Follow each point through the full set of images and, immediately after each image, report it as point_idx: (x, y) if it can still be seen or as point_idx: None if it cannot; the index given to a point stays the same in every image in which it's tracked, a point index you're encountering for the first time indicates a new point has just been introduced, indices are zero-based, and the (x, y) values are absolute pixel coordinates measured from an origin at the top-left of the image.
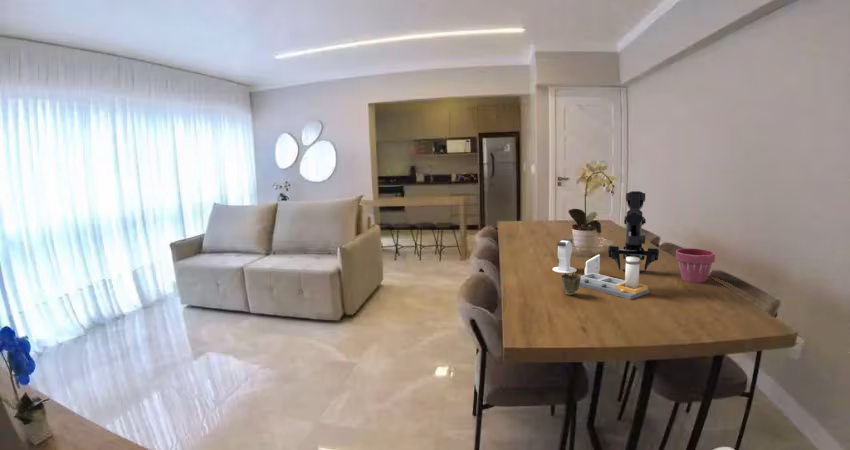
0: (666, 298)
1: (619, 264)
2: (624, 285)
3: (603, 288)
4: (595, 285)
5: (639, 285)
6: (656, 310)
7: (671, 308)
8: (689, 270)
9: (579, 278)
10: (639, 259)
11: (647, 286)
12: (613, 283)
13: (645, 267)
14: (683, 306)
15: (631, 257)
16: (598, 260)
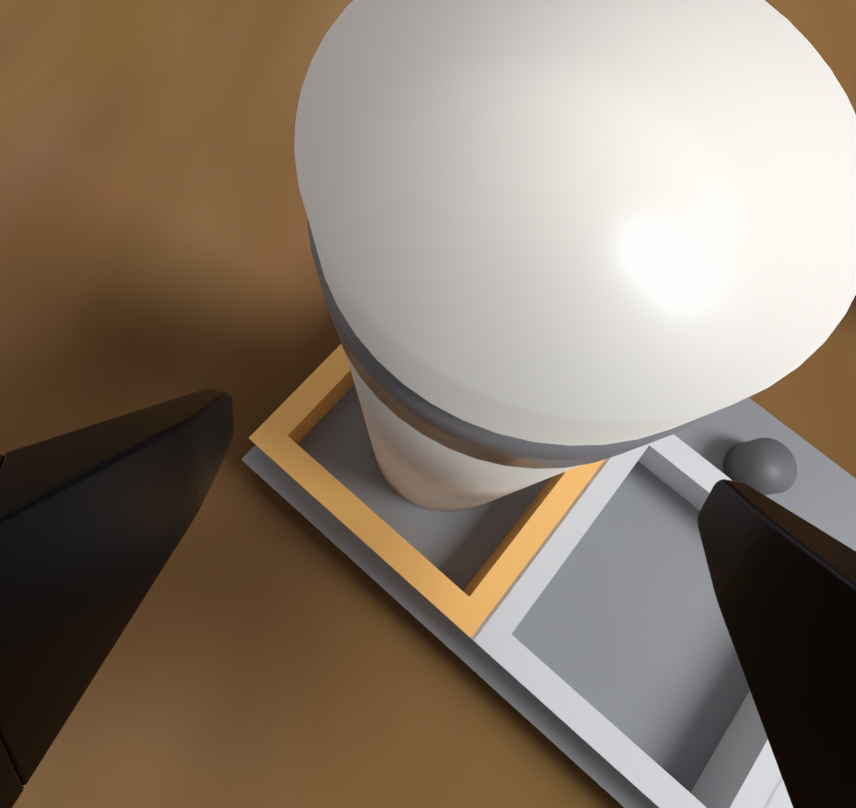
0: (132, 310)
1: (809, 537)
2: (521, 520)
3: (749, 404)
4: (846, 511)
5: (344, 487)
6: (325, 23)
7: (192, 72)
8: None
9: None
10: (336, 48)
11: (257, 430)
12: (642, 652)
13: (171, 412)
14: (69, 124)
15: (641, 226)
16: None
